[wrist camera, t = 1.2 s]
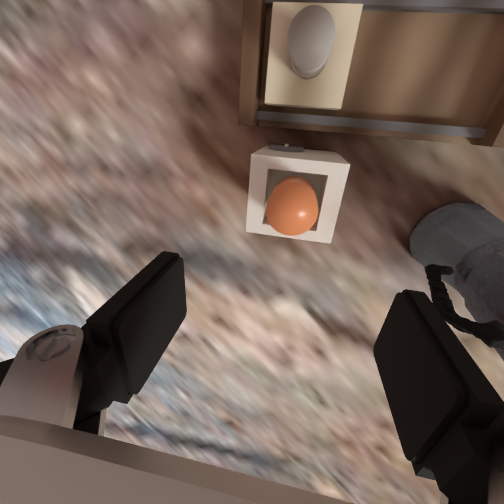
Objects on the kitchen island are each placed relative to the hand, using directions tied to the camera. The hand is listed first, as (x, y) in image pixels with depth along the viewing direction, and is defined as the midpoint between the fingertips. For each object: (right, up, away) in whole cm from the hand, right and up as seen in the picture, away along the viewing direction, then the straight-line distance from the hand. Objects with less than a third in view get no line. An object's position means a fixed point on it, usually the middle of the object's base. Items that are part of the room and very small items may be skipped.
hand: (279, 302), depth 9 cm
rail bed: (+11, +20, +15) cm, 27 cm away
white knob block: (+4, +11, +21) cm, 24 cm away
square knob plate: (+4, +20, +14) cm, 25 cm away
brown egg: (+3, +7, +13) cm, 15 cm away
